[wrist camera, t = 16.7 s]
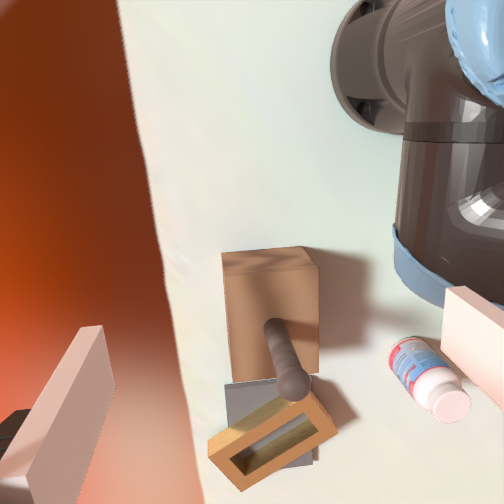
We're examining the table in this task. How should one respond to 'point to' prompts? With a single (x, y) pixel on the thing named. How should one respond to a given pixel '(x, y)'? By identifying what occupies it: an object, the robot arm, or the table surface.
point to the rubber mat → (250, 399)
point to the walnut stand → (273, 317)
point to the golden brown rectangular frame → (276, 452)
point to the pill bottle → (429, 380)
